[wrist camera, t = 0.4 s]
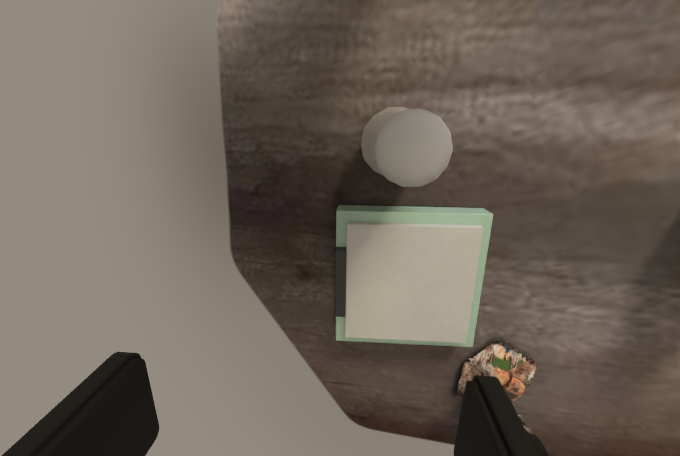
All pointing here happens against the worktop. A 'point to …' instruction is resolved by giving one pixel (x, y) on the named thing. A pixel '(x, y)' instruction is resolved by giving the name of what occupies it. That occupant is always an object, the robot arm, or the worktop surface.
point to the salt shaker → (407, 145)
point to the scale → (409, 273)
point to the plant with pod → (501, 370)
